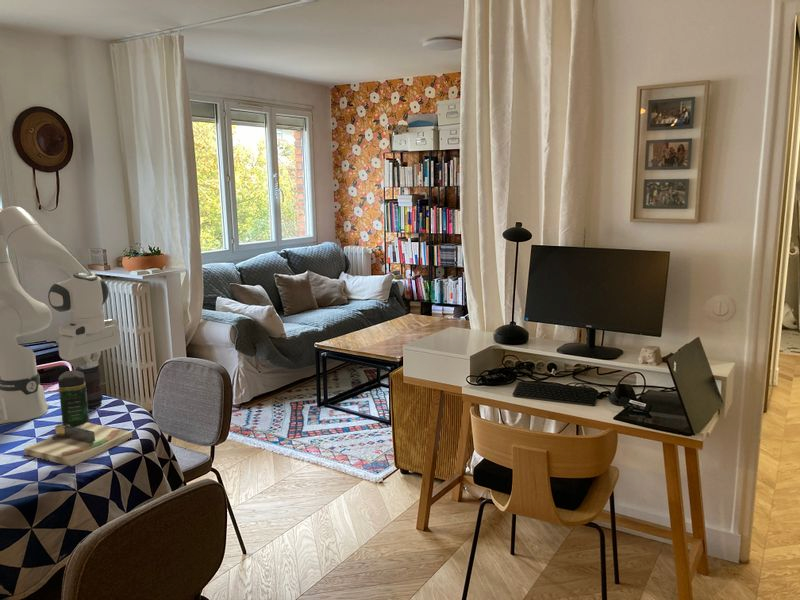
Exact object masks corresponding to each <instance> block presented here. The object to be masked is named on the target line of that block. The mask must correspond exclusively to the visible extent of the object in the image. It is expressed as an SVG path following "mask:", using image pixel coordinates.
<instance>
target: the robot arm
mask: <svg viewBox="0 0 800 600" xmlns="http://www.w3.org/2000/svg"><path fill="white" fill-rule="evenodd" d="M8 246H9V247H10V249H11V250H12V252H13V253H14V254H15V255H17V257H19V258H20V259H22V260H25V261H28V262H33V263H42V264H50V265H53V266H56V267H59V268H61V269H62V270H64V271H65V272H66V273H67V275H68V276H70V278H68V279H66V280H63V281H59V282H56V283H54V284H52V285H51V286H50V288H49V290H48V295H47V298H48V303H49V305H50V306H51V307H52V308H53V310H55V311H57V312H59V313H60V312H62V313H66V312H72V319H71V320H70V321H67V323H65V324H63V325H62V326H59V328H58V334H60V336H59V339H58V355H59V357H60V359H62V360H65V361H72V360H75V359H79V358H83V360H84V361H85V362H86V364H87V367H93V366H97V365H98V364H99V359H100V357H101V355H102V352H103V351H104V350H106V351H107V350H110V349H112V348H116V347H118V346H120V344H121V336H120V335H121V334H120V331H119V327H118V325H119V324H118V322H117V320H115V319H113V318H109V319H105V312H104V309H103V305H104V304H105V303H106V302H107V300H108V297H109V294H110V293H109V292H110V290H109V286H108V284H107V283H106V282H105V280H103V278H102V277H100V276H98V275H97V274H96V273H94V272H93V271H92V270H91V269H90V268H89V267H88V266H87V265H86V264H85V263H84V262H83V261H82V260H81V259H80V258H79V257H78V256H77V255H76V254H75V252H73V251H72V250H71V249H70V248H69V247H67V245H66V244H63V243H62V242H59V241H57V239H54V238H53V237H52V236H51V235H49V234H48V233H47V232H46V231H45V230H44V229H43V227H42V226H41V225H40V224H39V223H38V221H37V220H36V219H35V218H34V217H33V216H32V215H31V214H30V213H29V212H28V211H27V210H26V209H24V208H22V207H21V206H17V205H16V206H14V205H12V206H8V207H7V206H6V207H4V208H0V303H1V304H2V305H3V306H0V425H2V424H8V423H15V422H17V423H18V422H23V421H29V420H33V419H36V418H39V417H41V416H43V415H45V414H46V413H48V408H49V407H50V403H48V402H47V400H46V397H45V396H46V395H45V391H44V387H43V385H41V380H40V378H41V377H40V373H39V372H38V367H37V362H36V361H37V359H36V353H35V352H34V351H33V350H32V349H31V348H29V347H26V346H23V345H20V344H19V343H18V341H17V338H18V337H23V336H27V335H31V334H32V335H33V334H37V333H38V332H42V331H43V330H46V329H47V328H49V327H50V326H51V324H52V321H53V315H52V312H51V309H50V307H49V306H48V305H46V303H44V302H42V301H39V300H37V299H35V298H33V297H32V296H31V295H30V294H28V293H27V291H26V290H25V289H24V288H23V287H22V286H21V284H20V282H19V279H18V278H17V277H18V276H17V275H16V273H15V270H14V267H13V263H12V262H11V259H10V257H9V254H8V251H7V248H8ZM92 354H93V358H92V359H91V357H92Z"/></svg>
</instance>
